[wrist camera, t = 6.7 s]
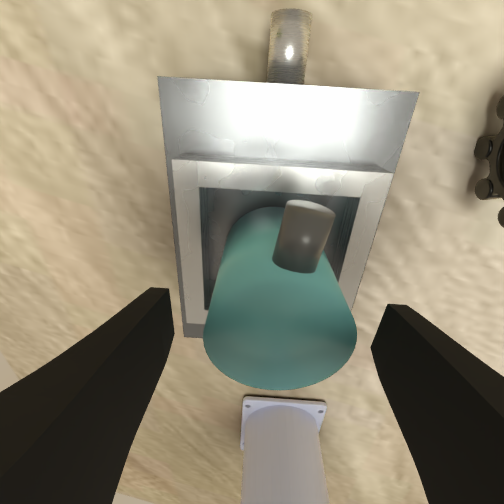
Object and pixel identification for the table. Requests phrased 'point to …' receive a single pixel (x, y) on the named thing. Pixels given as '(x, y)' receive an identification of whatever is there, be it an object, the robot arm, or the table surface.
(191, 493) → the table surface
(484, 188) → the valve
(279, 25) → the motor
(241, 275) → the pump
